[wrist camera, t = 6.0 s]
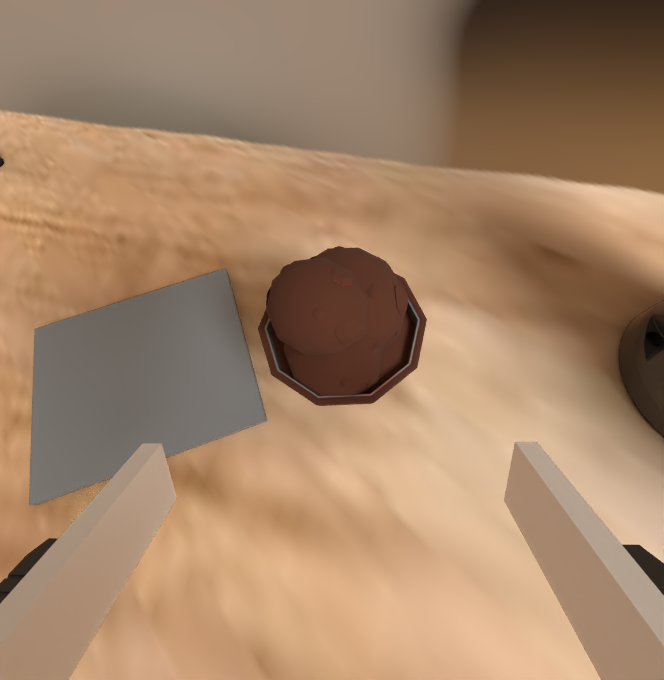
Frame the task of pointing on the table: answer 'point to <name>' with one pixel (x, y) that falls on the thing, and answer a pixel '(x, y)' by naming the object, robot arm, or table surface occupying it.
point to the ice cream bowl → (341, 327)
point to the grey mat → (138, 383)
